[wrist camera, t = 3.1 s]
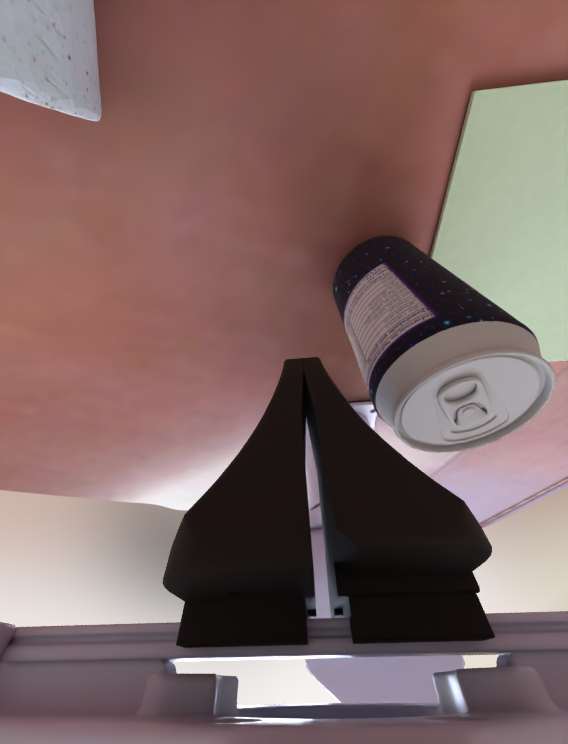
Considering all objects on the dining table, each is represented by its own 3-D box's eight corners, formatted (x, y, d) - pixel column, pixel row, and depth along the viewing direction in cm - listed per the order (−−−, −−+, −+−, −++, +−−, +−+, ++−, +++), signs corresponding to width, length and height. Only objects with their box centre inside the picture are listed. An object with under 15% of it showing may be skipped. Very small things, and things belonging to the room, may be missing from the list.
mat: (604, 355, 22) (607, 357, 22) (400, 370, 23) (401, 372, 23) (871, 43, 12) (882, 41, 11) (471, 91, 12) (475, 90, 12)
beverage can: (354, 328, 21) (413, 473, 11) (315, 269, 18) (353, 399, 8) (427, 286, 18) (574, 422, 9) (397, 210, 15) (570, 298, 6)
